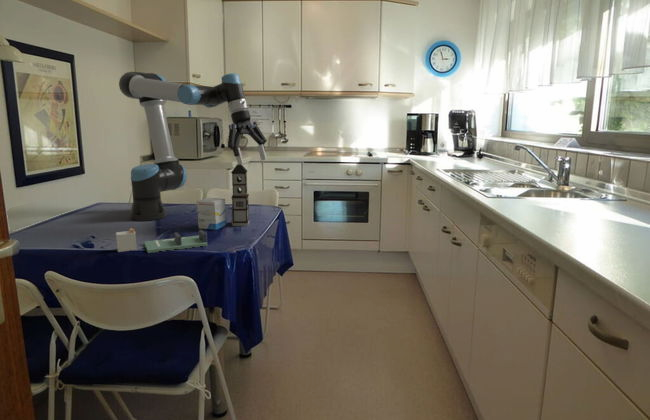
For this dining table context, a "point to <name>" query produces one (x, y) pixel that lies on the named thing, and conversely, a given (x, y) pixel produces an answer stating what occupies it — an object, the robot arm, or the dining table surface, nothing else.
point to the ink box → (211, 213)
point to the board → (176, 242)
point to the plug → (126, 240)
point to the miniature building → (240, 197)
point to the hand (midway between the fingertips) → (252, 161)
